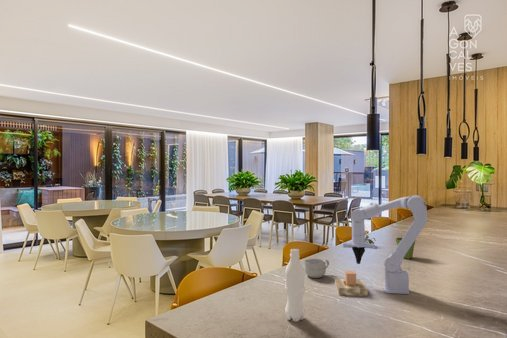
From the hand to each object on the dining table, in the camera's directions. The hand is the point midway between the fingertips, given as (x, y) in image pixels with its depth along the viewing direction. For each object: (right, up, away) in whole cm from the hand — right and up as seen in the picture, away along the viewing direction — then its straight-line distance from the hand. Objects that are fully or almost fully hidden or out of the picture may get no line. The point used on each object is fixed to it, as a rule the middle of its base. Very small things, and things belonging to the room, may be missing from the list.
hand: (358, 263), depth 150 cm
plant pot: (+44, -10, +45) cm, 64 cm away
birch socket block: (-6, -10, -7) cm, 14 cm away
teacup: (-17, -10, +12) cm, 23 cm away
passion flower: (+30, -10, +76) cm, 82 cm away
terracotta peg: (-6, -10, -8) cm, 14 cm away
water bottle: (-34, -10, -34) cm, 49 cm away
